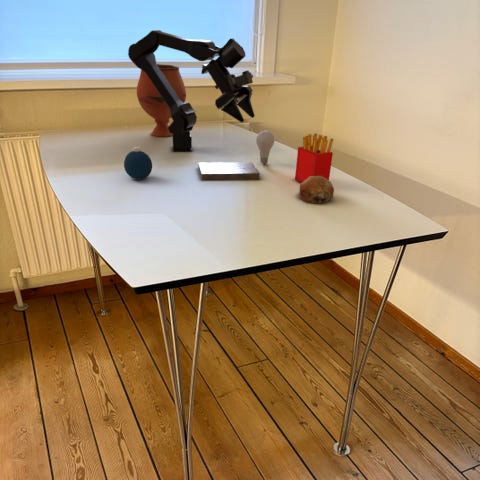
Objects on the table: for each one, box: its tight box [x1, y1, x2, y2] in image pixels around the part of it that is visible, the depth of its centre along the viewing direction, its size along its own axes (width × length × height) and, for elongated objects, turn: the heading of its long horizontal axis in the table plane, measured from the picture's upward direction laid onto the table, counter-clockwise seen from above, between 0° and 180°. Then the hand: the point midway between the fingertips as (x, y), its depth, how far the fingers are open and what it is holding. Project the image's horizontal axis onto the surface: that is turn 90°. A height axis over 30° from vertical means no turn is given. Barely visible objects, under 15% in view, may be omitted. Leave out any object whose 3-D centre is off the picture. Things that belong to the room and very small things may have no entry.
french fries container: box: [294, 132, 334, 184], centre depth 150 cm, size 7×9×14 cm
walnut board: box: [197, 162, 260, 181], centre depth 157 cm, size 18×12×2 cm, turn 99°
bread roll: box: [298, 176, 335, 205], centre depth 140 cm, size 10×10×8 cm
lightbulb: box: [255, 130, 275, 165], centre depth 166 cm, size 6×6×11 cm
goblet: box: [136, 63, 187, 137], centre depth 193 cm, size 19×19×25 cm
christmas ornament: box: [123, 146, 153, 181], centre depth 147 cm, size 8×8×10 cm
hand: (248, 119), depth 166 cm, fingers open, 9 cm apart
